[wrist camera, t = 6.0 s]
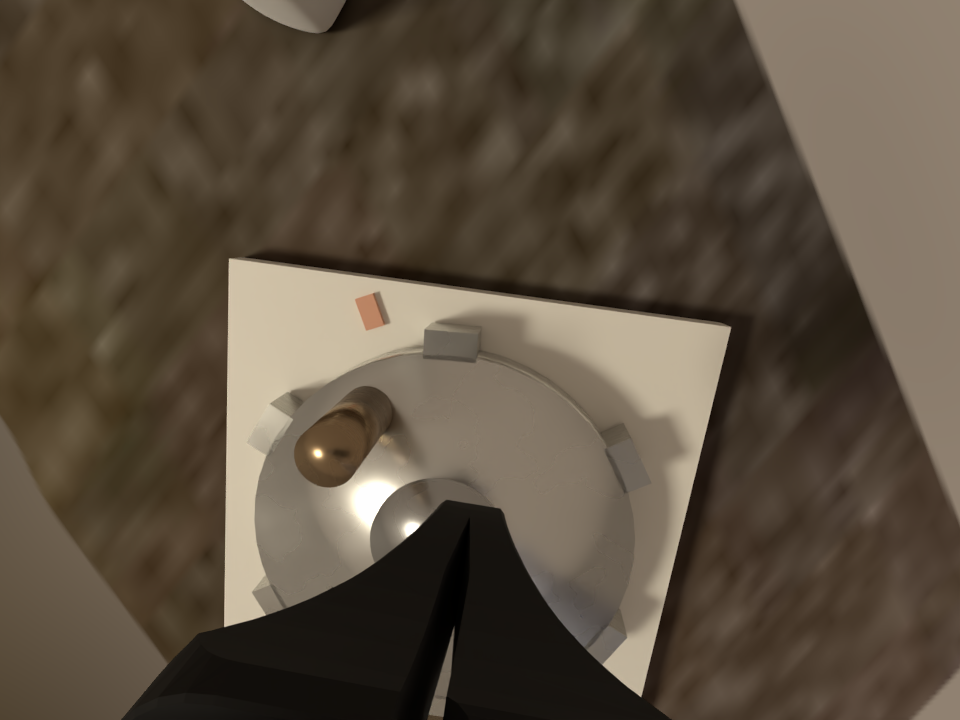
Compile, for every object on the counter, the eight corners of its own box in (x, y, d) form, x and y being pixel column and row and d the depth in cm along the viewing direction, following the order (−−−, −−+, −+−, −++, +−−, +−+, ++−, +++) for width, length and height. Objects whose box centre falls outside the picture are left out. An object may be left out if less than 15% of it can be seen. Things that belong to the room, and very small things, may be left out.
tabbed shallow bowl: (704, 602, 21) (766, 729, 15) (362, 718, 24) (313, 860, 18) (551, 264, 18) (561, 277, 13) (189, 438, 21) (75, 507, 16)
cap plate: (626, 719, 24) (631, 745, 22) (235, 650, 25) (221, 670, 23) (721, 322, 19) (733, 328, 18) (243, 257, 20) (226, 258, 19)
